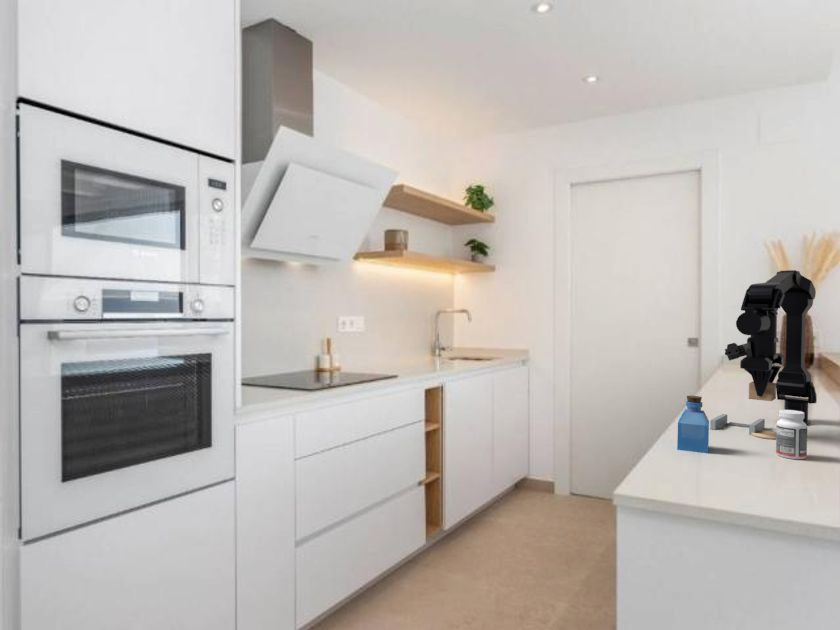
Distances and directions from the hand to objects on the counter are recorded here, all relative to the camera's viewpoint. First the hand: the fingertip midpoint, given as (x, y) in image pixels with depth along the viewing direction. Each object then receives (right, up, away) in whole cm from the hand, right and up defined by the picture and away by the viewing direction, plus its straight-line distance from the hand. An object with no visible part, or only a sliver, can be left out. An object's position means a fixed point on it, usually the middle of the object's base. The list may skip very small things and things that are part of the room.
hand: (762, 394), depth 148 cm
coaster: (+1, -11, 0) cm, 11 cm away
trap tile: (+2, -10, +12) cm, 16 cm away
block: (0, -1, 0) cm, 1 cm away
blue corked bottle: (-25, -11, -14) cm, 30 cm away
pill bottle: (-6, -11, -20) cm, 24 cm away
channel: (-2, -10, +8) cm, 13 cm away
